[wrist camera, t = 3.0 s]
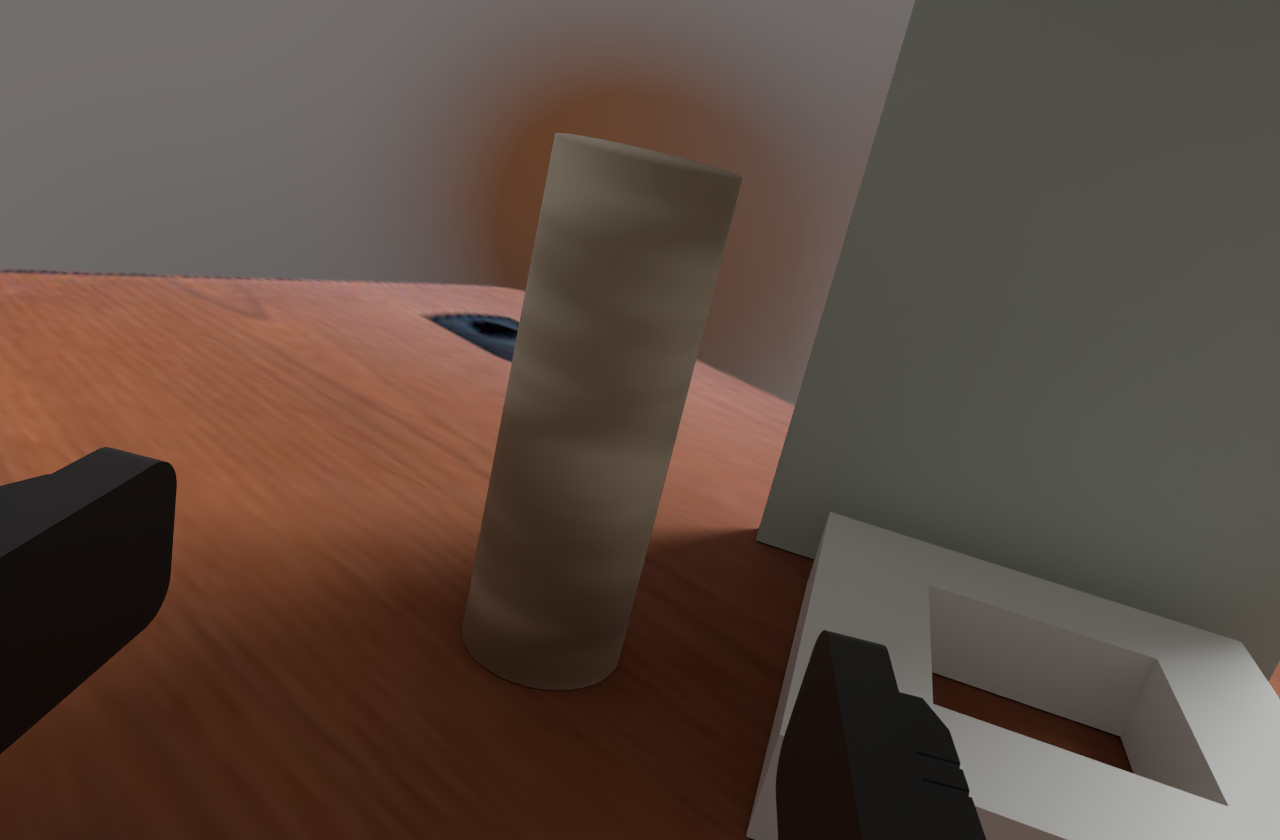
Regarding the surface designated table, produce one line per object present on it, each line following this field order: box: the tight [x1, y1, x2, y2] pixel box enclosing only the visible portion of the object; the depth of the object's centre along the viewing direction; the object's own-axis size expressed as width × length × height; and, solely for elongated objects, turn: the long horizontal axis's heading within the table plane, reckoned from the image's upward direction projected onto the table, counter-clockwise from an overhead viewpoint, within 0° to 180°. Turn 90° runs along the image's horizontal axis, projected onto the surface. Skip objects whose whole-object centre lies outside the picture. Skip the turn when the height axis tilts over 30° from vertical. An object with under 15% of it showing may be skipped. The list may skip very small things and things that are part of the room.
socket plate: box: [746, 512, 1280, 840], centre depth 23 cm, size 12×12×2 cm
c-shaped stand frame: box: [756, 0, 1280, 682], centre depth 19 cm, size 16×17×27 cm
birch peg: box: [462, 133, 742, 690], centre depth 22 cm, size 4×4×12 cm
